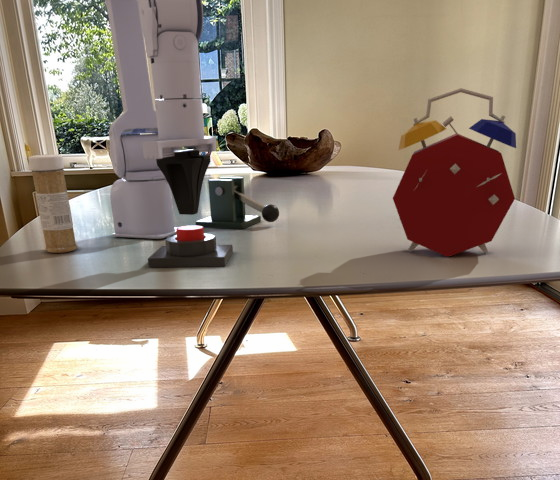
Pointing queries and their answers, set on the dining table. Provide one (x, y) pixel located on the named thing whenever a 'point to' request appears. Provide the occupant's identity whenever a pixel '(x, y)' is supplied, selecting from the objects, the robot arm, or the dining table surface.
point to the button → (190, 233)
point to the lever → (258, 206)
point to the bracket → (227, 205)
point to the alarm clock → (454, 184)
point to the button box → (191, 253)
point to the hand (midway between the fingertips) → (188, 213)
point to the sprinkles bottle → (53, 202)
